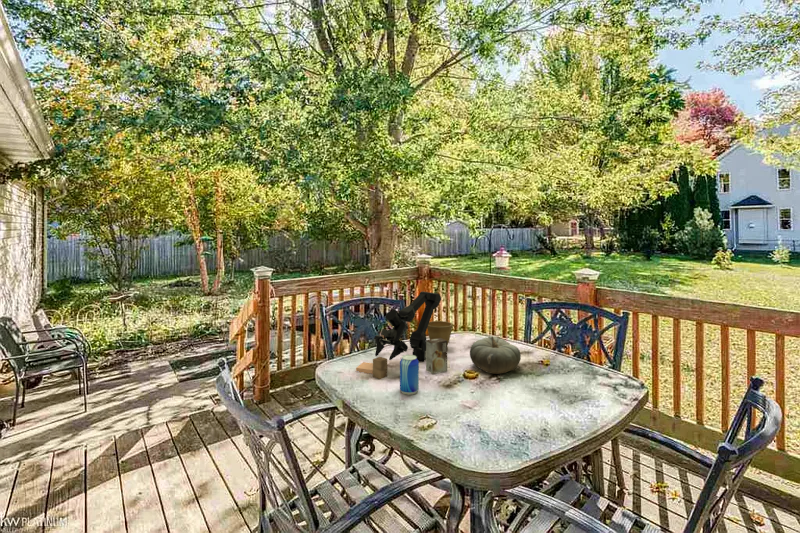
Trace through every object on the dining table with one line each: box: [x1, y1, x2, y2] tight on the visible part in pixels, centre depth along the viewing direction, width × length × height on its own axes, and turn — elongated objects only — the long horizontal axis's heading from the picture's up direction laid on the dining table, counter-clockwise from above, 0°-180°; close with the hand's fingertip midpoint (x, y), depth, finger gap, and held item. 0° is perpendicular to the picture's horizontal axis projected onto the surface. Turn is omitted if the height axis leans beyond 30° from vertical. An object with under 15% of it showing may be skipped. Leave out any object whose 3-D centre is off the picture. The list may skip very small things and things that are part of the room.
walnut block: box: [372, 356, 388, 380], centre depth 203 cm, size 5×5×9 cm
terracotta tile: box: [355, 361, 373, 375], centre depth 213 cm, size 9×9×2 cm
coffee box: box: [425, 338, 448, 375], centre depth 211 cm, size 9×6×16 cm
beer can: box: [399, 354, 420, 396], centre depth 185 cm, size 8×8×16 cm
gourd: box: [469, 335, 522, 375], centre depth 214 cm, size 25×25×17 cm
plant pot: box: [427, 320, 453, 347], centre depth 244 cm, size 15×15×16 cm
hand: (382, 357), depth 204 cm, fingers open, 9 cm apart
